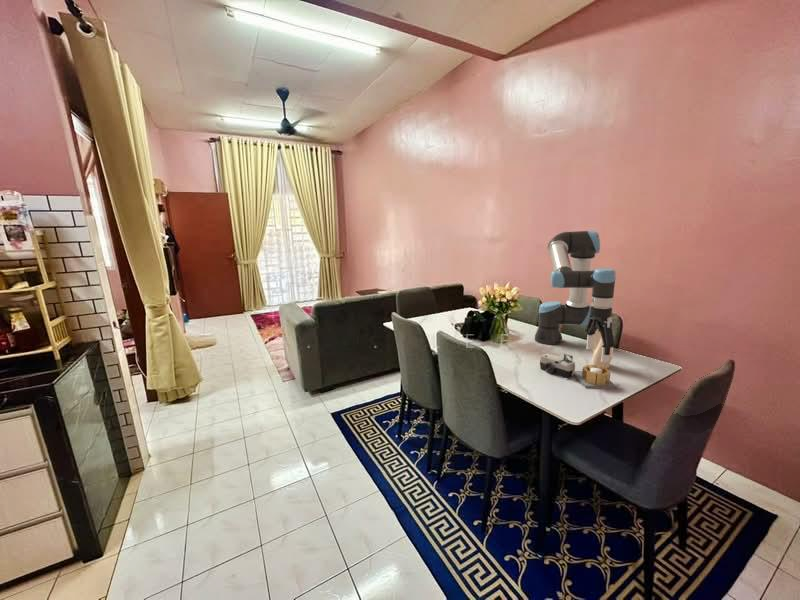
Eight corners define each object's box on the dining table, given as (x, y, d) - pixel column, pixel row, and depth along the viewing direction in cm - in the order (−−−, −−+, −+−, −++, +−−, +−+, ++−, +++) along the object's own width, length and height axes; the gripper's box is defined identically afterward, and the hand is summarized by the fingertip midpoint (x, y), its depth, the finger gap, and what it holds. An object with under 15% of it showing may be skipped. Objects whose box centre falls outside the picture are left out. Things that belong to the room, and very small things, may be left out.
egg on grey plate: (571, 372, 149) (572, 360, 148) (598, 373, 148) (599, 360, 147) (585, 387, 135) (586, 374, 134) (616, 388, 133) (617, 374, 132)
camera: (536, 369, 155) (537, 349, 153) (546, 365, 159) (547, 346, 157) (566, 380, 142) (568, 359, 140) (576, 376, 146) (578, 355, 144)
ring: (602, 375, 143) (602, 365, 142) (613, 385, 134) (614, 374, 133) (579, 375, 144) (579, 365, 143) (588, 385, 135) (589, 374, 134)
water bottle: (616, 370, 150) (621, 311, 145) (594, 369, 152) (599, 311, 146) (607, 361, 160) (612, 306, 154) (587, 360, 162) (591, 306, 156)
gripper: (579, 300, 145) (575, 344, 149) (606, 315, 121) (601, 367, 125) (597, 299, 144) (593, 344, 148) (628, 314, 120) (622, 367, 124)
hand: (597, 355), depth 137 cm, fingers open, 13 cm apart
